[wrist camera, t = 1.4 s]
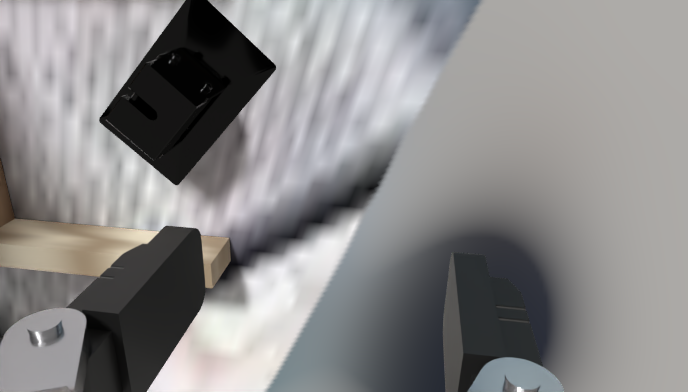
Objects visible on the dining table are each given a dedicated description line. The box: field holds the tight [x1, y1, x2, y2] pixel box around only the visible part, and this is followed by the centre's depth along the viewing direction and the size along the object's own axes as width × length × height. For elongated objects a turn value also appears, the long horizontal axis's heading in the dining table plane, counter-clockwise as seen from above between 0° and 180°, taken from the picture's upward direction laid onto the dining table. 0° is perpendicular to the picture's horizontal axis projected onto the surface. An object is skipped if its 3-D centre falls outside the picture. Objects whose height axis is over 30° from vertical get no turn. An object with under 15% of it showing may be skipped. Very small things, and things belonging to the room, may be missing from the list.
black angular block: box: [99, 0, 276, 185], centre depth 26 cm, size 12×7×5 cm, turn 137°
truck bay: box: [0, 159, 231, 288], centre depth 27 cm, size 15×19×4 cm
